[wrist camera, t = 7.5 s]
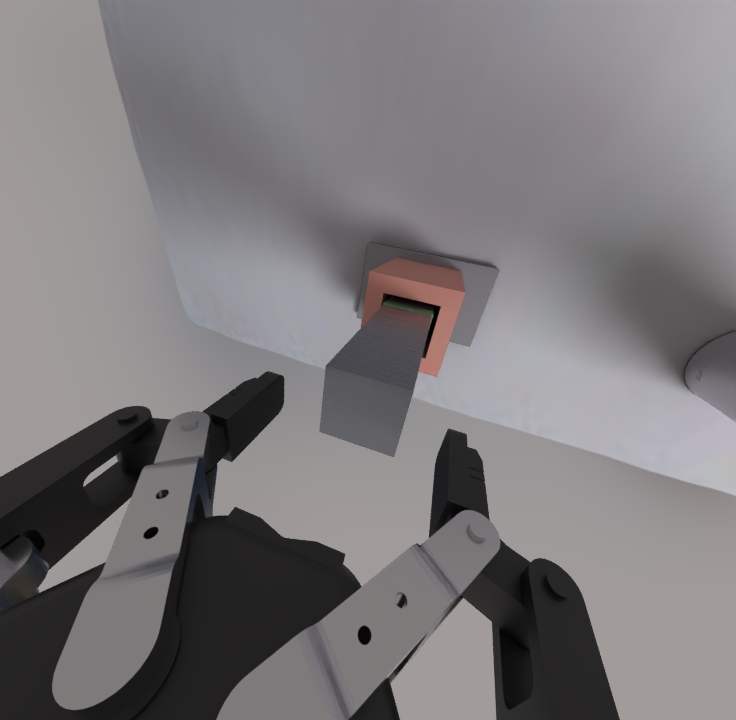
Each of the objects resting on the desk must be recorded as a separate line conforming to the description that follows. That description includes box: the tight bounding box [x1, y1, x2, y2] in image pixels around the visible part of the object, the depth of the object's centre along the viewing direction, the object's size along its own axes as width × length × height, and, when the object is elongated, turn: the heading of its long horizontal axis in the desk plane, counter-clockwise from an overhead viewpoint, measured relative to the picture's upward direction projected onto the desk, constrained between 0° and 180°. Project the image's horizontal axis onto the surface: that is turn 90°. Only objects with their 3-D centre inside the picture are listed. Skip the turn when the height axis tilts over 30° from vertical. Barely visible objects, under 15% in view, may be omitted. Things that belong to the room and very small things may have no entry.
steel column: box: [320, 295, 435, 457], centre depth 21 cm, size 4×4×18 cm
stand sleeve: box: [357, 242, 499, 377], centre depth 29 cm, size 16×10×15 cm, turn 80°
